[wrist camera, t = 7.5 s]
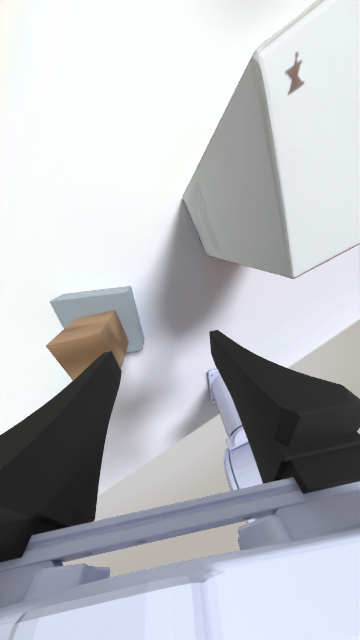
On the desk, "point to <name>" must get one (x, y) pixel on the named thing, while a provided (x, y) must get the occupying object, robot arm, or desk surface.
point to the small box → (287, 150)
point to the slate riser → (103, 310)
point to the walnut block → (89, 342)
